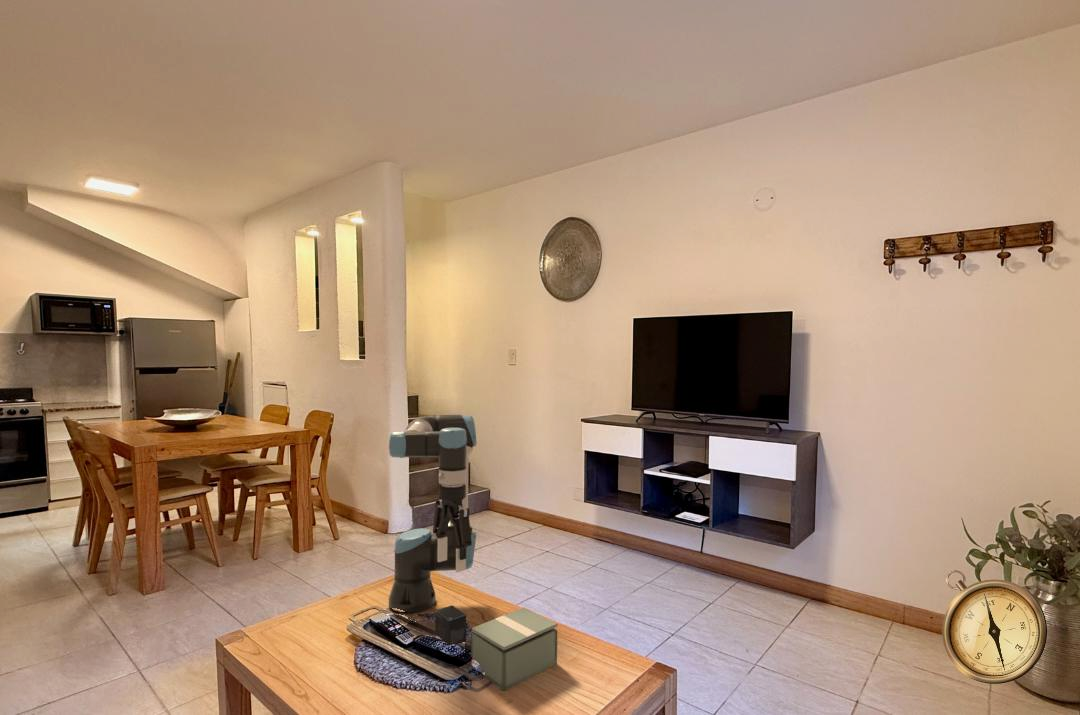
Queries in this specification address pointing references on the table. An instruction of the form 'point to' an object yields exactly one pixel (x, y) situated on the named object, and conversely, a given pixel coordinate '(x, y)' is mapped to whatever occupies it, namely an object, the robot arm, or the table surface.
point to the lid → (514, 628)
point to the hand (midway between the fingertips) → (451, 565)
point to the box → (450, 625)
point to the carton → (515, 658)
